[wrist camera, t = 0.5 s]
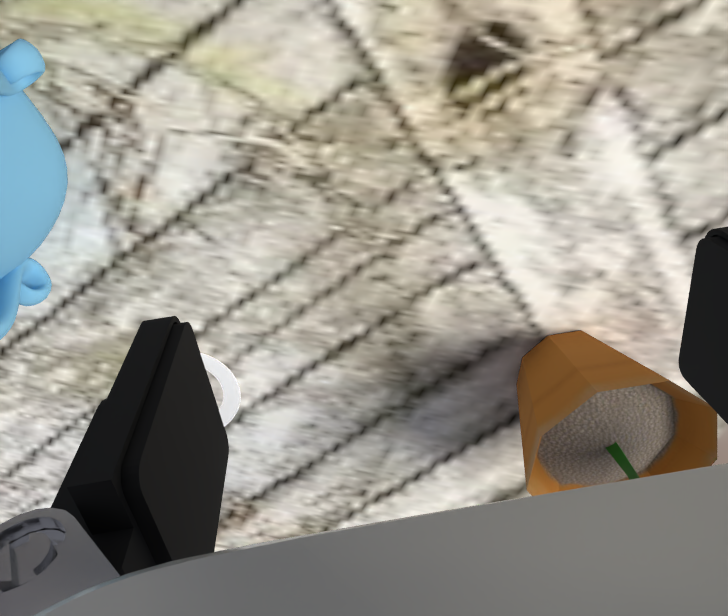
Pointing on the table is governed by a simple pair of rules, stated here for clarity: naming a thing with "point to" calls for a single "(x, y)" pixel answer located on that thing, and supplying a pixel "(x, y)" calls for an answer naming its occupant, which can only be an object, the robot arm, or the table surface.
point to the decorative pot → (25, 183)
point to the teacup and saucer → (224, 387)
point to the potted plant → (604, 418)
